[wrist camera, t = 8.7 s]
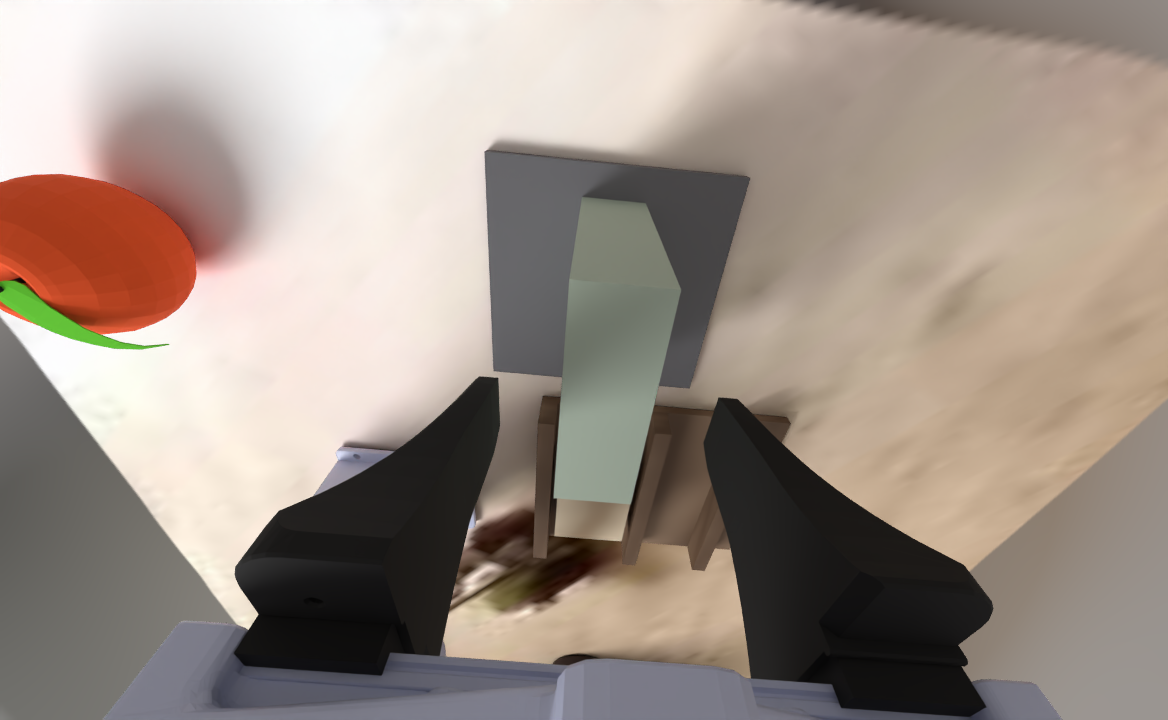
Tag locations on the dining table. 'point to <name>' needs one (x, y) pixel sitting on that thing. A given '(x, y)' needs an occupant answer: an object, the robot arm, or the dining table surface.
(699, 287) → the mat
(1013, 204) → the dining table surface
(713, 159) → the dining table surface
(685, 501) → the rack
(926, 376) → the dining table surface
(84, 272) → the tomato
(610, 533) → the offcut top
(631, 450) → the sage panel
